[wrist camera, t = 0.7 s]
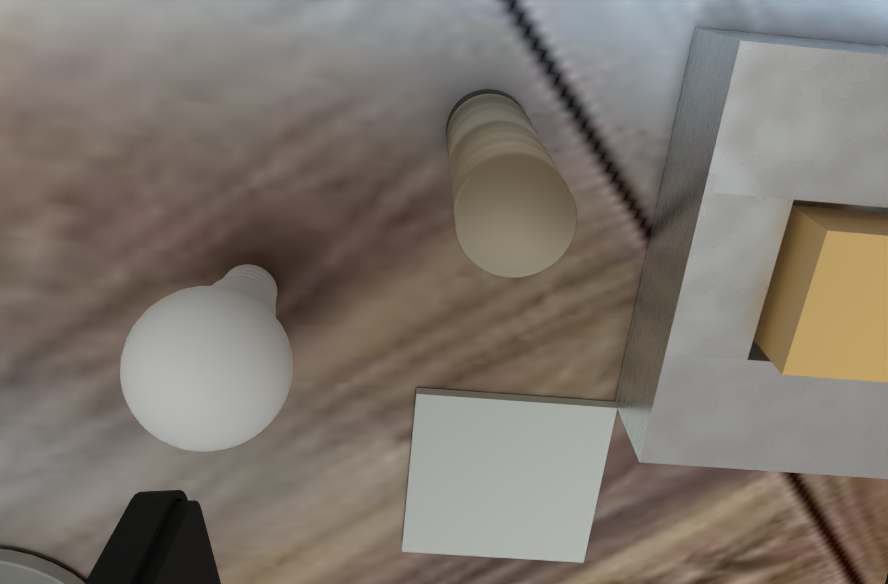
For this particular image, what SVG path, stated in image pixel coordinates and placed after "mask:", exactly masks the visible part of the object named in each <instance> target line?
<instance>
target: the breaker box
mask: <svg viewBox="0 0 888 584" xmlns="http://www.w3.org/2000/svg"><path fill="white" fill-rule="evenodd" d="M792 205H795V206H806V207H818V208H829V209H841V210H852V211H864V212H875V213H887V214H888V46H880V45H870V44H860V43H850V42H840V41H830V40H820V39H810V38H800V37H790V36H780V35H770V34H760V33H750V32H740V31H729V30H719V29H709V28H699V27H695V31H694V35H693V40H692V45H691V49H690V54H689V59H688V63H687V68H686V72H685V77H684V82H683V86H682V91H681V96H680V100H679V105H678V110H677V114H676V119H675V124H674V128H673V133H672V137H671V142H670V147H669V151H668V156H667V161H666V165H665V170H664V175H663V179H662V184H661V188H660V193H659V198H658V202H657V207H656V212H655V216H654V221H653V226H652V230H651V235H650V239H649V244H648V249H647V253H646V258H645V263H644V267H643V272H642V277H641V281H640V286H639V291H638V295H637V300H636V304H635V309H634V314H633V318H632V323H631V328H630V332H629V337H628V342H627V346H626V351H625V355H624V360H623V365H622V369H621V374H620V379H619V383H618V388H617V393H616V397H615V404H616V406H617V409H618V411H619V414H620V416H621V419H622V421H623V424H624V426H625V428H626V431H627V433H628V436H629V438H630V441H631V443H632V445H633V448H634V450H635V453H636V455H637V458H638V460H639V462H644V463H659V464H674V465H689V466H703V467H718V468H733V469H748V470H763V471H778V472H793V473H808V474H823V475H838V476H852V477H867V478H882V479H888V382H875V381H861V380H848V379H834V378H821V377H807V376H794V375H782V374H781V373H780V371H779V370H778V369H777V368H776V367H775V365H774V364H773V363H772V362H771V360H770V359H769V358H768V357H767V356H766V354H765V353H764V352H763V351H762V350H761V348H760V347H759V346H758V345H757V344H756V342H755V341H754V340H753V339H754V335H755V332H756V328H757V325H758V321H759V318H760V314H761V311H762V308H763V304H764V301H765V297H766V294H767V290H768V287H769V283H770V280H771V277H772V273H773V270H774V266H775V263H776V259H777V256H778V252H779V249H780V245H781V242H782V239H783V235H784V232H785V228H786V225H787V221H788V218H789V214H790V211H791V208H792Z"/></svg>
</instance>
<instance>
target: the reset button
mask: <svg viewBox="0 0 888 584" xmlns="http://www.w3.org/2000/svg"><path fill="white" fill-rule="evenodd" d="M753 340H754V341H755V342H756V344H757V345H758V346H759V347H760V348H761V350H762V351H763V352H764V353H765V354H766V356H767V357H768V358H769V359H770V360H771V362H772V363H773V364H774V365H775V367H776V368H777V369H778V370H779V371H780V373H781V374H782V375H794V376H807V377H821V378H834V379H848V380H861V381H875V382H888V214H887V213H875V212H864V211H852V210H841V209H829V208H818V207H806V206H795V205H792V208H791V211H790V214H789V218H788V221H787V225H786V228H785V232H784V235H783V239H782V242H781V245H780V249H779V252H778V256H777V259H776V263H775V266H774V270H773V273H772V277H771V280H770V283H769V287H768V290H767V294H766V297H765V301H764V304H763V308H762V311H761V314H760V318H759V321H758V325H757V328H756V332H755V335H754V339H753Z"/></svg>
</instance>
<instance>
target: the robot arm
mask: <svg viewBox="0 0 888 584" xmlns="http://www.w3.org/2000/svg"><path fill="white" fill-rule="evenodd" d="M0 584H221V583H220V579H219V575H218V571H217V567H216V563H215V560H214V556H213V552H212V548H211V544H210V541H209V537H208V533H207V529H206V525H205V522H204V518H203V514H202V510H201V507H200V504H199V503H198V502H197V501H188V499H187V497H186V494H185V493H184V492H183V491H181V490H170V491H149V492H139V493H137V494H135V495H134V497H133V498H132V499H131V501H130V503H129V505H128V506H127V508H126V510H125V512H124V514H123V515H122V517H121V519H120V521H119V523H118V525H117V526H116V528H115V530H114V532H113V534H112V535H111V537H110V539H109V541H108V543H107V544H106V546H105V548H104V550H103V552H102V554H101V555H100V557H99V559H98V561H97V563H96V564H95V566H94V568H93V570H92V572H91V573H90V575H89V577H88V579H87V581H86V583H85V582H83V581H82V580H81V579H79V578H78V577H77V576H75V575H74V574H73V573H71V572H69V571H67V570H65V569H64V568H62V567H60V566H58V565H56V564H54V563H52V562H49V561H47V560H44V559H42V558H39V557H36V556H34V555H30V554H26V553H22V552H17V551H13V550H6V549H0ZM885 584H888V575H887V579H886V583H885Z"/></svg>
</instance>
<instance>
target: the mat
mask: <svg viewBox="0 0 888 584" xmlns="http://www.w3.org/2000/svg"><path fill="white" fill-rule="evenodd" d="M616 411H617V406H616V404H615V402H612V401H598V400H584V399H570V398H556V397H542V396H528V395H514V394H500V393H486V392H472V391H458V390H444V389H430V388H417V389H416V400H415V411H414V421H413V432H412V443H411V454H410V465H409V475H408V486H407V497H406V508H405V519H404V529H403V540H402V552H414V553H431V554H448V555H465V556H482V557H498V558H515V559H532V560H549V561H566V562H582V563H584V558H585V554H586V549H587V544H588V540H589V535H590V531H591V526H592V521H593V517H594V512H595V508H596V503H597V499H598V494H599V489H600V485H601V480H602V476H603V471H604V466H605V462H606V457H607V453H608V448H609V444H610V439H611V434H612V430H613V425H614V421H615V416H616Z"/></svg>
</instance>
